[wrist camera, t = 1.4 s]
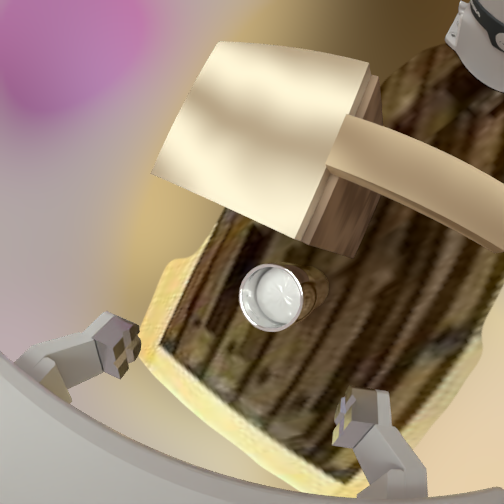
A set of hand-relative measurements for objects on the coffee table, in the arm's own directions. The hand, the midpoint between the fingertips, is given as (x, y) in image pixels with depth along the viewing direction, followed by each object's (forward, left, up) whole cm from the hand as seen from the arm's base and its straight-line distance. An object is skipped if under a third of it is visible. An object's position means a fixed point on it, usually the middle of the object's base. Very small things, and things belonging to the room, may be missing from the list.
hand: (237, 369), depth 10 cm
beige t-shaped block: (-10, -2, -6) cm, 12 cm away
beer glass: (+2, -5, -32) cm, 33 cm away
